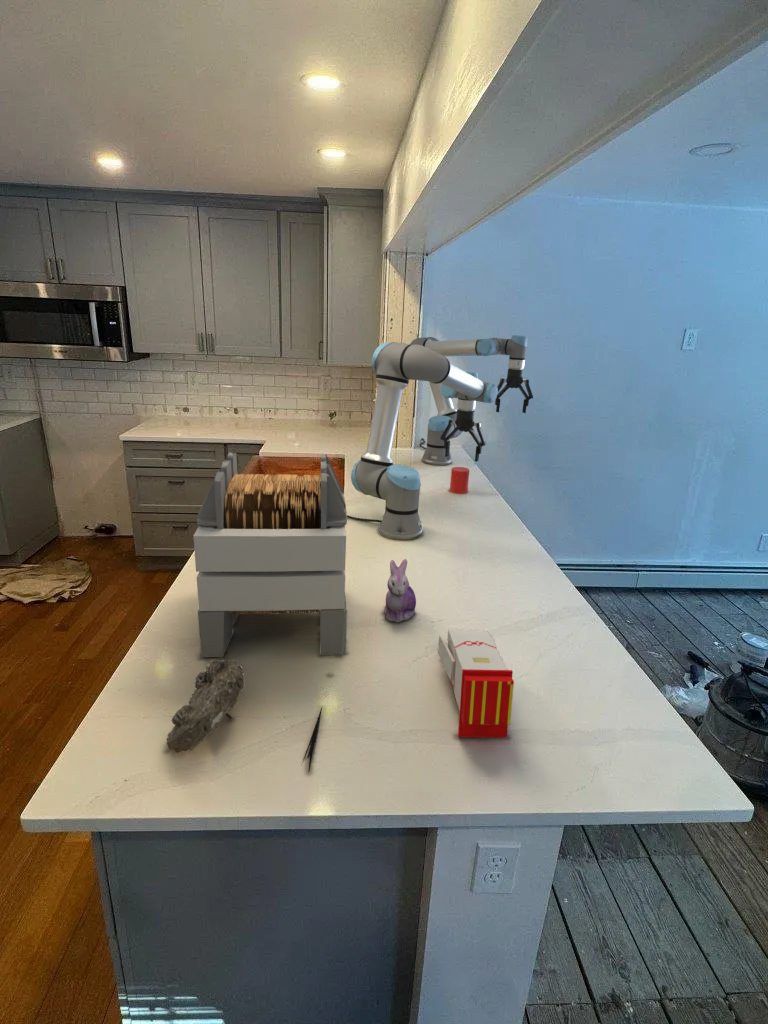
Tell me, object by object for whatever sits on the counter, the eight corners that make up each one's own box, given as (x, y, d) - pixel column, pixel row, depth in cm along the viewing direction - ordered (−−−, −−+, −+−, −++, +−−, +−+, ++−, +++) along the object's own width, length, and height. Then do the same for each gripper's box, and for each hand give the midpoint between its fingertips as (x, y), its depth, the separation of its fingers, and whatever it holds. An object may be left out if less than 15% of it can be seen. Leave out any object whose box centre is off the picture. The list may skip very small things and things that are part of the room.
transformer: (222, 587, 156) (213, 443, 143) (341, 586, 160) (343, 445, 146) (198, 659, 125) (184, 483, 111) (346, 655, 129) (350, 484, 115)
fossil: (192, 660, 117) (244, 628, 112) (224, 691, 120) (276, 661, 115) (142, 746, 98) (202, 712, 93) (182, 779, 101) (242, 748, 96)
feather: (331, 679, 122) (336, 673, 122) (307, 777, 96) (313, 769, 95) (324, 675, 122) (329, 669, 121) (298, 772, 95) (304, 764, 95)
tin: (470, 490, 252) (472, 468, 248) (463, 495, 245) (465, 472, 242) (454, 487, 255) (455, 465, 252) (446, 491, 249) (448, 469, 246)
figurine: (392, 627, 141) (395, 572, 136) (374, 608, 149) (376, 556, 144) (425, 619, 145) (429, 566, 140) (405, 601, 154) (408, 550, 149)
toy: (488, 613, 130) (523, 677, 101) (484, 667, 133) (517, 744, 104) (435, 612, 130) (455, 676, 101) (432, 666, 133) (451, 743, 103)
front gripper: (497, 411, 236) (492, 461, 243) (441, 405, 247) (438, 452, 254) (491, 414, 230) (486, 464, 237) (435, 407, 240) (431, 455, 248)
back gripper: (493, 368, 270) (488, 413, 277) (543, 370, 273) (537, 414, 280) (488, 366, 277) (484, 410, 284) (537, 368, 280) (532, 411, 287)
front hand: (461, 458), depth 245 cm, fingers open, 13 cm apart
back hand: (510, 412), depth 282 cm, fingers open, 13 cm apart
